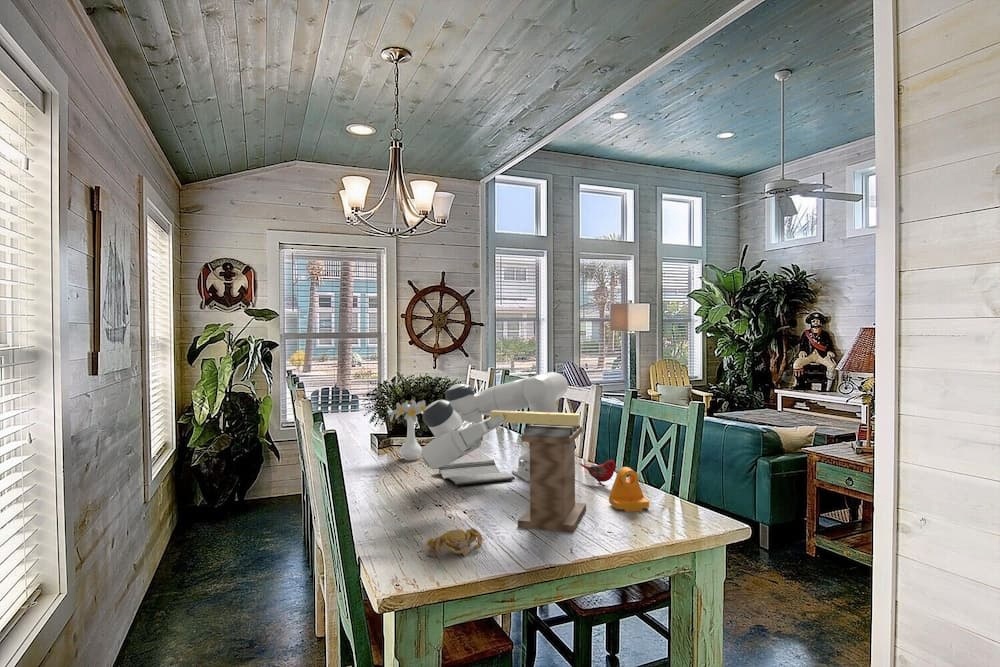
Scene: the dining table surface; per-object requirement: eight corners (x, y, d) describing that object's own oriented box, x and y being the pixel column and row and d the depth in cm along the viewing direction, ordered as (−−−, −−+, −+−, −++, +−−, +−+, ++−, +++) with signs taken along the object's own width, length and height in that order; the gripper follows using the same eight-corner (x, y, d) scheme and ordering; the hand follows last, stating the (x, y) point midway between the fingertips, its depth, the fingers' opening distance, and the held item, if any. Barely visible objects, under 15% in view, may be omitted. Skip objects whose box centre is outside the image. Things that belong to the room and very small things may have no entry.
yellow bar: (490, 421, 180) (490, 411, 180) (493, 420, 183) (493, 410, 183) (578, 425, 172) (578, 415, 172) (580, 424, 175) (580, 413, 175)
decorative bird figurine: (614, 490, 210) (614, 462, 210) (576, 480, 224) (576, 453, 223) (619, 489, 212) (619, 460, 212) (582, 479, 226) (581, 452, 225)
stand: (517, 527, 175) (517, 429, 174) (536, 505, 195) (535, 417, 194) (573, 532, 170) (572, 432, 169) (586, 509, 190) (585, 419, 189)
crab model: (455, 537, 168) (455, 517, 168) (490, 547, 160) (490, 526, 160) (413, 553, 156) (413, 532, 156) (449, 565, 148) (449, 543, 148)
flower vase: (386, 457, 264) (385, 399, 264) (429, 454, 269) (428, 397, 268) (388, 464, 252) (388, 403, 251) (433, 461, 256) (432, 401, 256)
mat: (455, 490, 215) (455, 476, 214) (435, 474, 236) (435, 462, 236) (515, 482, 224) (515, 469, 224) (490, 468, 245) (490, 456, 245)
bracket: (616, 512, 188) (616, 473, 187) (609, 505, 195) (608, 467, 194) (650, 510, 189) (650, 471, 189) (641, 503, 196) (641, 466, 196)
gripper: (484, 439, 193) (520, 418, 189) (460, 453, 174) (500, 430, 170) (474, 421, 194) (510, 401, 190) (450, 433, 175) (489, 410, 171)
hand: (506, 415), depth 180 cm, fingers closed on yellow bar, 3 cm apart
